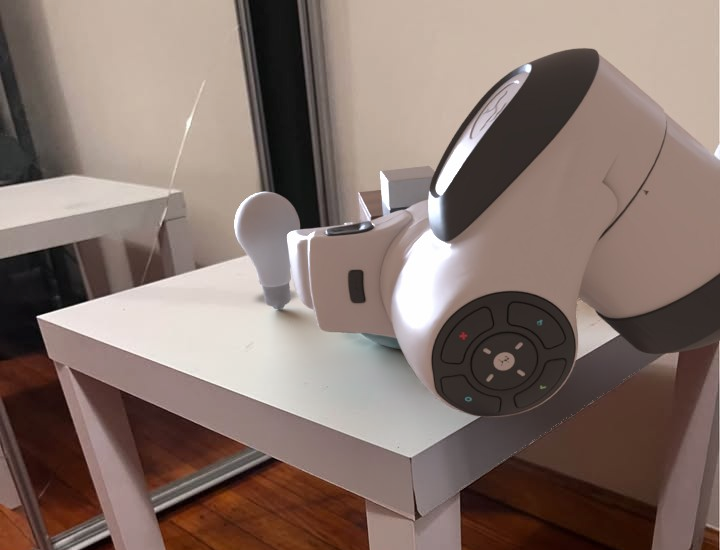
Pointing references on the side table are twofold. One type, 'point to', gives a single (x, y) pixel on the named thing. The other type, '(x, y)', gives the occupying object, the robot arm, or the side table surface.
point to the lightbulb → (268, 242)
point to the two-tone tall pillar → (405, 187)
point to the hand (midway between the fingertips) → (411, 225)
